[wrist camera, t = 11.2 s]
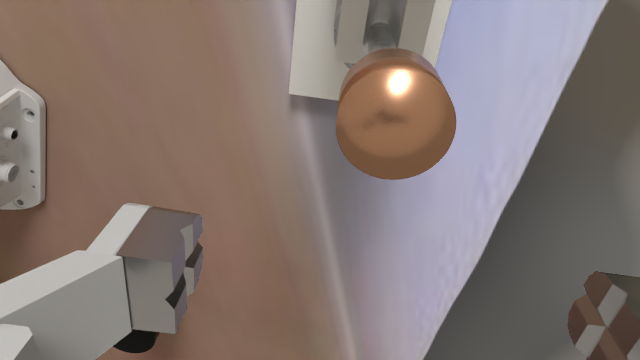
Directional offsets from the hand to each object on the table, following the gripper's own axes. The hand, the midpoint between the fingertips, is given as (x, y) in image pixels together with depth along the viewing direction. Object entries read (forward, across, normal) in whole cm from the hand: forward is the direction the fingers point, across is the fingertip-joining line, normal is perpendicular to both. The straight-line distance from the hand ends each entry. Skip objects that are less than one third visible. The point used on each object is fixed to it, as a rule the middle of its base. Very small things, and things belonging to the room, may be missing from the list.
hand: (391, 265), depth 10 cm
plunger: (+25, +1, 0) cm, 25 cm away
